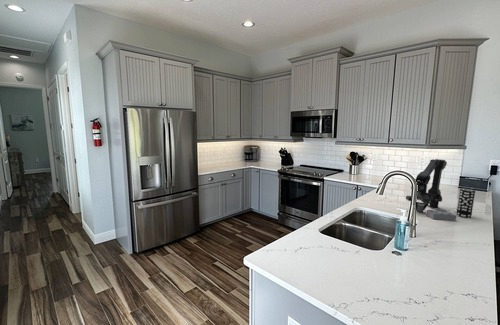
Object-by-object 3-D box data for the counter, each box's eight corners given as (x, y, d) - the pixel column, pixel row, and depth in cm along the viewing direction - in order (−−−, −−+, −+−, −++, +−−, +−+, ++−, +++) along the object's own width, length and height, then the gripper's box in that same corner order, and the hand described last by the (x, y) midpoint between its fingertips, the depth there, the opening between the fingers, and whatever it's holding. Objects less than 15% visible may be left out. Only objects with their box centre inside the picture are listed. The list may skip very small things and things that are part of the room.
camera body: (426, 214, 178) (427, 207, 177) (447, 216, 175) (448, 209, 175) (433, 219, 169) (434, 211, 168) (455, 221, 166) (456, 213, 166)
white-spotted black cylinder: (474, 218, 172) (478, 191, 169) (462, 218, 172) (466, 191, 169) (464, 214, 180) (468, 188, 177) (453, 214, 180) (456, 188, 178)
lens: (413, 210, 188) (414, 201, 187) (421, 210, 187) (422, 202, 186) (417, 212, 183) (418, 203, 182) (424, 213, 182) (425, 204, 181)
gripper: (413, 192, 176) (410, 212, 178) (441, 193, 173) (439, 214, 175) (406, 188, 187) (404, 207, 189) (433, 190, 183) (430, 209, 186)
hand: (419, 209), depth 184 cm, fingers open, 5 cm apart
